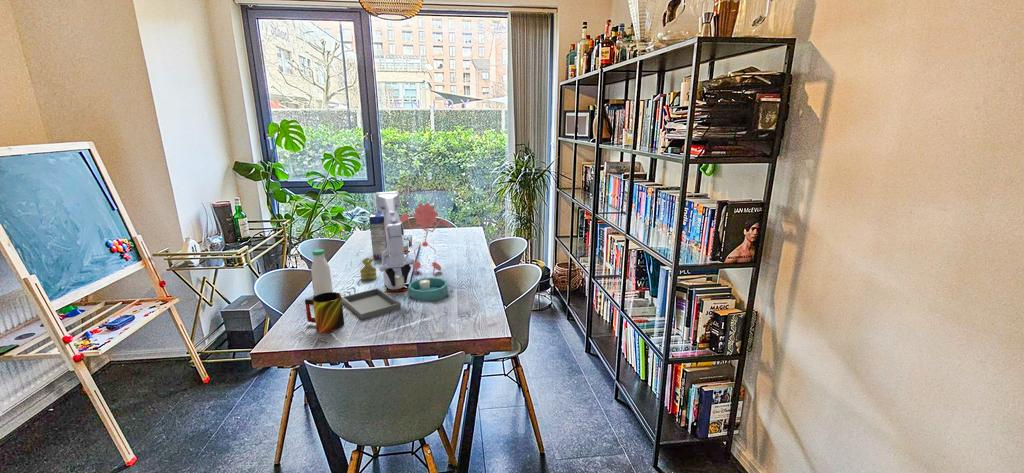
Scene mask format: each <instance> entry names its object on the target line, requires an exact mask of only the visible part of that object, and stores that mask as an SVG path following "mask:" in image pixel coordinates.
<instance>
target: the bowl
mask: <svg viewBox="0 0 1024 473" xmlns="http://www.w3.org/2000/svg"><path fill="white" fill-rule="evenodd" d="M421 280H429V281H430V290H426V291H422V290H420V281H421ZM407 290H408V296H409V297H411V299H415V300H421V301H427V302H435V301H438V300H441V299H444V298H445V297H446V296H448V295H449V293H448V291H449V290H448V281H447V280H446V279H443V278H442V277H441V278H440V277H422V278H419V279H414V280H412V281H410V282H409V284H408V286H407Z"/></svg>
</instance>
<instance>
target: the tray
mask: <svg viewBox="0 0 1024 473" xmlns="http://www.w3.org/2000/svg"><path fill="white" fill-rule="evenodd" d="M341 299H342V305H344V306H346V307H347V308H348V309H349V310H350V311H351V312H352V313H353V314H355V315H356V316H357V317H358V318H360V320H362V321H363V320H367V319H369V318H372V317H377V316H379V315H383V314H387V313H390V312H393V311H397V310H401V309H402V303H401V302H400V301H398V299H395V298H394V297H392V296H391V295H390V294H388V293H386V292H385V291H383V290H382V289H380V288H379V287H376V288H373V289H369V290H365V291H360V292H357V293H353V294H348V295H345V296H341Z"/></svg>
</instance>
